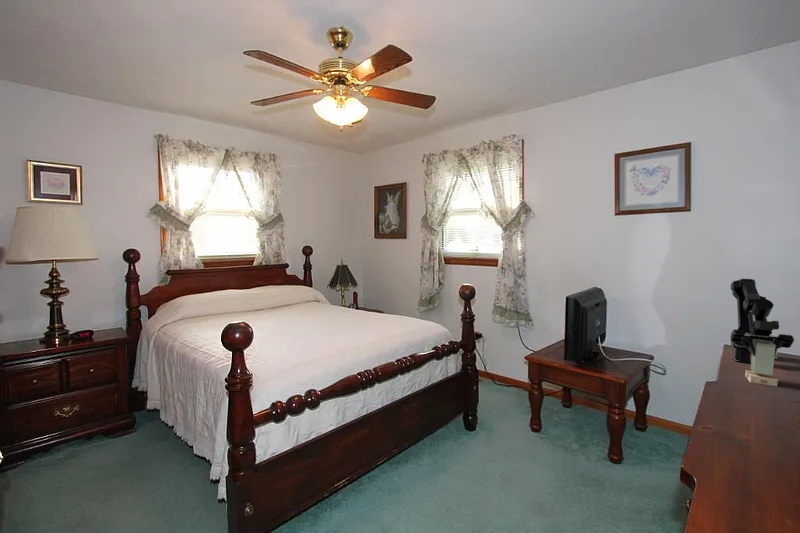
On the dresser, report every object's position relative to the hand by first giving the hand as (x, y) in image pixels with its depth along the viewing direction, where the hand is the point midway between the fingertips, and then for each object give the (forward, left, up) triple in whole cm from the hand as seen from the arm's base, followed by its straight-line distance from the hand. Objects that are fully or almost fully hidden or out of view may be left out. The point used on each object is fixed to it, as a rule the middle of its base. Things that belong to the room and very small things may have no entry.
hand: (763, 356), depth 160 cm
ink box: (-45, +11, -11) cm, 48 cm away
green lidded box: (-1, 0, -7) cm, 7 cm away
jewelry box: (-1, 0, -11) cm, 11 cm away
